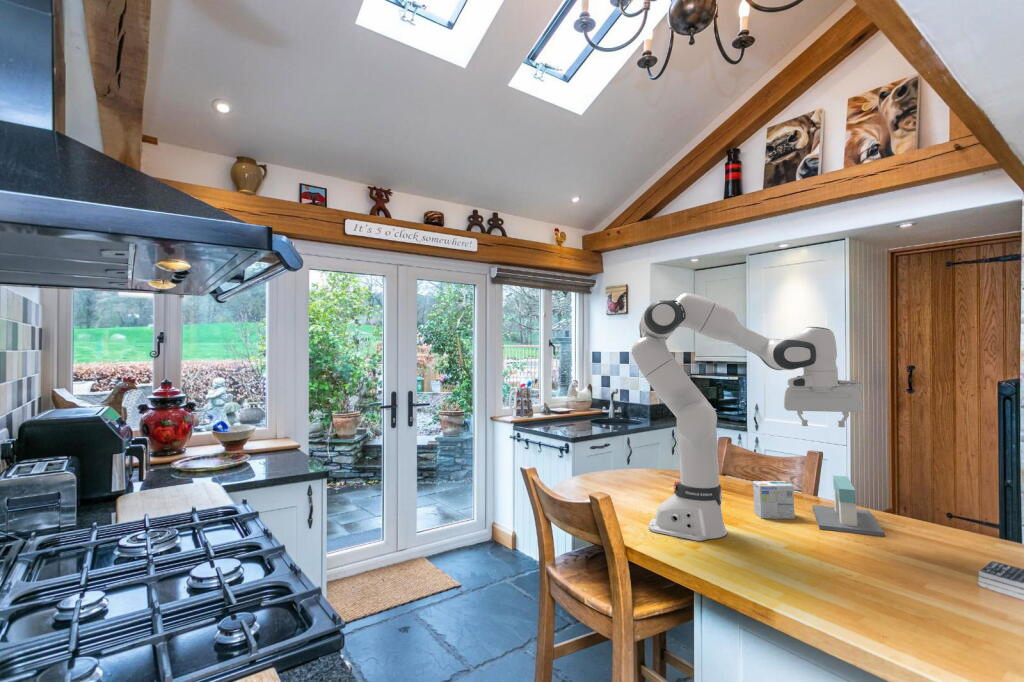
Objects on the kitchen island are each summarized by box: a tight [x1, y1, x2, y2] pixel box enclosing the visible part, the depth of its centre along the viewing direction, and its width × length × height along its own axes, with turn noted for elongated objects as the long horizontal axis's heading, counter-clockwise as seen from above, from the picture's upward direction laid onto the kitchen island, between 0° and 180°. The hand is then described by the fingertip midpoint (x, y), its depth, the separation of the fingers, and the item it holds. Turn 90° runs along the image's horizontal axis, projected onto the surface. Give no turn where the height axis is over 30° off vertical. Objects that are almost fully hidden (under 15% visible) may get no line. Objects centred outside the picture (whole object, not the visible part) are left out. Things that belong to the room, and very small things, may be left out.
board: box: [812, 489, 885, 537], centre depth 158 cm, size 16×22×8 cm
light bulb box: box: [752, 480, 796, 520], centre depth 165 cm, size 11×7×11 cm, turn 84°
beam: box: [832, 475, 857, 505], centre depth 158 cm, size 18×4×4 cm, turn 152°
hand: (822, 426), depth 150 cm, fingers open, 8 cm apart
